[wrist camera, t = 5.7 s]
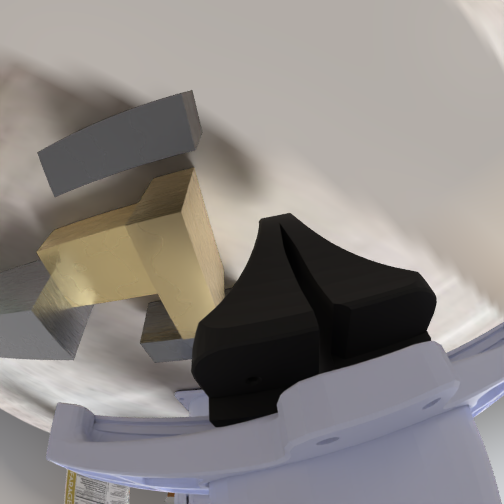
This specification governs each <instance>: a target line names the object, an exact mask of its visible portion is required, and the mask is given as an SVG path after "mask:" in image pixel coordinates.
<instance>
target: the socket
mask: <svg viewBox="0 0 504 504" xmlns="http://www.w3.org/2000/svg"><path fill="white" fill-rule="evenodd" d="M201 135H202V129H201V125H200V120H199V116H198V112H197V108H196V104H195V99H194V95H193V91H192V90H191V91H187V92H183V93H180V94H176V95H173V96H169V97H166V98H162V99H159V100H156V101H153V102H150V103H147V104H144V105H141V106H138V107H135V108H133V109H130V110H127V111H124V112H122V113H119V114H117V115H114V116H112V117H109V118H107V119H104V120H102V121H99V122H97V123H95V124H93V125H90V126H88V127H86V128H84V129H82V130H79V131H77V132H75V133H73V134H71V135H69V136H67V137H65V138H63V139H61V140H59V141H57V142H55V143H54V144H52V145H50V146H48V147H46V148H44V149H43V150H41V151H39V152H37V153H38V156H39V159H40V162H41V164H42V167H43V170H44V172H45V175H46V177H47V180H48V182H49V185H50V187H51V190H52V192H53V194H54V197H57V196H59V195H61V194H64V193H66V192H68V191H71V190H73V189H76V188H78V187H81V186H83V185H86V184H89V183H91V182H94V181H97V180H99V179H102V178H105V177H108V176H110V175H113V174H116V173H119V172H122V171H125V170H128V169H131V168H134V167H137V166H140V165H144V164H147V163H150V162H154V161H157V160H160V159H164V158H167V157H171V156H175V155H178V154H182V153H186V152H190V151H194V150H196V148H197V145H198V143H199V140H200V138H201ZM230 290H231V289H226V290H224V294H225V296H226V295H227V294H228V293H229V292H230ZM193 342H194V338H191V339H183V338H182V337H181V335H180V333H179V332H178V330H177V328H176V326H175V325H174V323H173V321H172V319H171V318H170V316H169V314H168V312H167V310H166V308H165V307H164V305H163V303H162V301H158V302H152V303H149V305H148V309H147V313H146V318H145V322H144V327H143V332H142V336H141V341H140V344H141V345H142V347H143V348H144V349H145V351H146V352H147V353H148V355H149V356H150V357H151V358H152V360H153V361H154V362H155V363H157V362H169V361H178V360H188V359H192V348H193Z"/></svg>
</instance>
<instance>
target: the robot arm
mask: <svg viewBox="0 0 504 504" xmlns="http://www.w3.org/2000/svg"><path fill="white" fill-rule="evenodd" d="M436 303H437V301H436V295H435V294H434V292H433V291H432V289H431V288H430V286H429V285H428V283H427V282H426V281H425V279H424V278H423V277H422V276H421V275H420V274H419V272H415V271H410V270H405V269H400V268H395V267H391V266H387V265H384V264H380V263H377V262H374V261H371V260H368V259H366V258H363V257H360V256H358V255H355V254H353V253H351V252H348V251H346V250H344V249H342V248H340V247H338V246H336V245H335V244H333V243H331V242H329V241H328V240H326V239H325V238H323V237H321V236H320V235H318V234H317V233H315V232H314V231H313V230H311V229H310V228H309V227H307V226H306V225H305V224H303V223H302V222H301V221H300V220H298V219H297V218H296V217H295V216H293V215H292V214H291V213H287V214H282V215H277V216H272V217H267V218H262V219H261V220H260V221H259V230H258V235H257V239H256V242H255V245H254V248H253V251H252V253H251V256H250V258H249V261H248V263H247V265H246V267H245V269H244V270H243V272H242V274H241V276H240V277H239V279H238V280H237V282H236V283H235V285H234V286H233V288H232V289H231V290H230V292H229V293H228V294H227V295H226V296H225V297H224V299H223V300H222V301H221V302H220V303H219V304H218V305H217V306H216V307H215V308H214V309H213V310H212V311H211V312H210V313H209V314H208V315H207V316H206V317H204V318H203V319H202V320H201V321H200V322H199V323H198V326H197V330H196V333H195V338H194V342H193V348H192V369H191V372H192V374H193V377H194V379H195V380H196V381H197V383H198V384H199V385H200V387H201V388H202V390H191V391H178V392H175V397H176V398H177V400H178V401H179V402H180V403H181V404H182V405H183V406H184V407H185V408H186V409H187V410H188V411H189V417H175V418H131V417H111V416H98V415H94V414H93V413H92V412H91V411H90V410H88V409H87V408H85V407H83V406H81V405H77V404H68V403H60V402H59V403H57V406H56V410H55V414H54V418H53V423H52V427H51V432H50V437H49V442H48V448H47V454H46V458H47V460H49V461H51V462H53V463H55V464H57V465H59V466H61V467H64V468H66V469H68V470H70V471H73V472H75V473H78V474H80V475H83V476H85V477H88V478H91V479H95V480H99V481H104V482H108V483H113V484H118V485H123V486H128V487H134V488H140V489H147V490H154V491H161V492H171V493H175V495H174V504H502V503H501V499H500V495H499V491H498V487H497V484H496V480H495V476H494V473H493V470H492V467H491V464H490V461H489V458H488V455H487V452H486V449H485V446H484V443H483V441H482V438H481V436H480V433H479V430H478V428H477V425H476V423H475V421H474V418H473V417H475V416H476V415H478V414H479V413H481V412H482V411H484V410H485V409H486V408H487V407H489V406H490V405H492V404H493V403H494V402H496V401H497V400H498V399H500V398H501V397H502V396H503V395H504V322H503V323H501V324H500V325H498V326H496V327H495V328H493V329H491V330H489V331H488V332H486V333H484V334H482V335H481V336H479V337H477V338H475V339H473V340H471V341H469V342H468V343H466V344H464V345H462V346H460V347H458V348H456V349H454V350H452V351H450V352H447V353H446V352H445V351H444V349H443V347H442V345H440V344H438V343H437V342H435V341H431V337H430V336H429V334H428V332H427V328H428V326H429V324H430V321H431V319H432V316H433V314H434V311H435V307H436Z"/></svg>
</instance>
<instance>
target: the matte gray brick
mask: <svg viewBox="0 0 504 504" xmlns="http://www.w3.org/2000/svg"><path fill="white" fill-rule="evenodd" d="M93 306H94V304H92V305H86V306H79V307H71V305H70V304H69V302H68V301H67V300H66V298H65V297H64V295H63V294H62V292H61V291H60V289H59V288H58V286H57V285H56V283H55V282H54V280H53V279H52V277H51V276H50V274H49V272H48V271H47V269H46V268H45V266H44V264H43V263H42V261H41V260H38V261H35V262H32V263H29V264H25V265H22V266H19V267H16V268H13V269H10V270H7V271H4V272H1V273H0V357H2V358H16V359H37V360H74V358H75V355H76V352H77V349H78V346H79V343H80V340H81V338H82V335H83V332H84V329H85V327H86V324H87V321H88V319H89V316H90V314H91V311H92V308H93Z"/></svg>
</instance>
